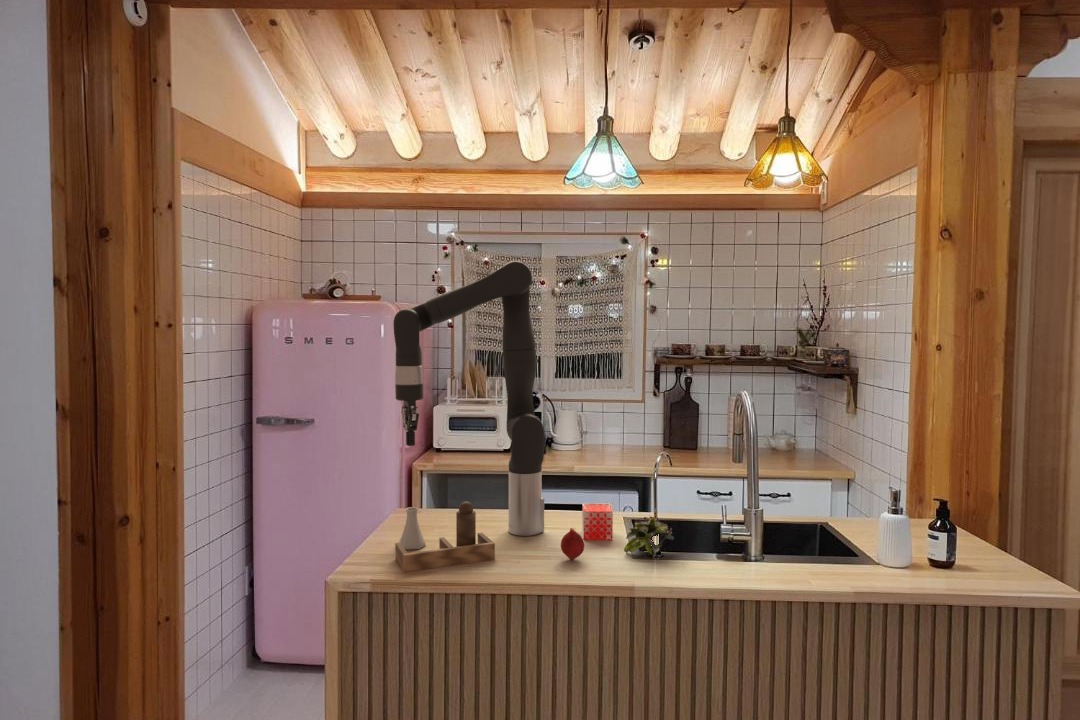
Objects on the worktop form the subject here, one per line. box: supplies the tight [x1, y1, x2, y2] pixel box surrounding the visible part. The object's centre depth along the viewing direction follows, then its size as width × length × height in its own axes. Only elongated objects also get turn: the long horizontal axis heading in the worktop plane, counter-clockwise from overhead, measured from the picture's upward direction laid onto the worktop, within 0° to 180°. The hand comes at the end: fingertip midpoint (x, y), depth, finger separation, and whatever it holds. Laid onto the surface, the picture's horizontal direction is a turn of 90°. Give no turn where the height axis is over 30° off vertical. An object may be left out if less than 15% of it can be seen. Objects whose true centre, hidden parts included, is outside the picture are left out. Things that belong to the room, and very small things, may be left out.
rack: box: [394, 532, 496, 573], centre depth 173 cm, size 23×10×4 cm, turn 114°
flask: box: [398, 506, 426, 551], centre depth 182 cm, size 7×7×10 cm
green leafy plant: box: [623, 516, 675, 560], centre depth 177 cm, size 11×11×12 cm
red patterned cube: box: [581, 503, 614, 541], centre depth 192 cm, size 8×8×8 cm
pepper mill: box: [455, 500, 477, 547], centre depth 175 cm, size 5×5×14 cm
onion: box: [560, 527, 585, 561], centre depth 172 cm, size 6×6×8 cm
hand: (410, 445), depth 191 cm, fingers closed
